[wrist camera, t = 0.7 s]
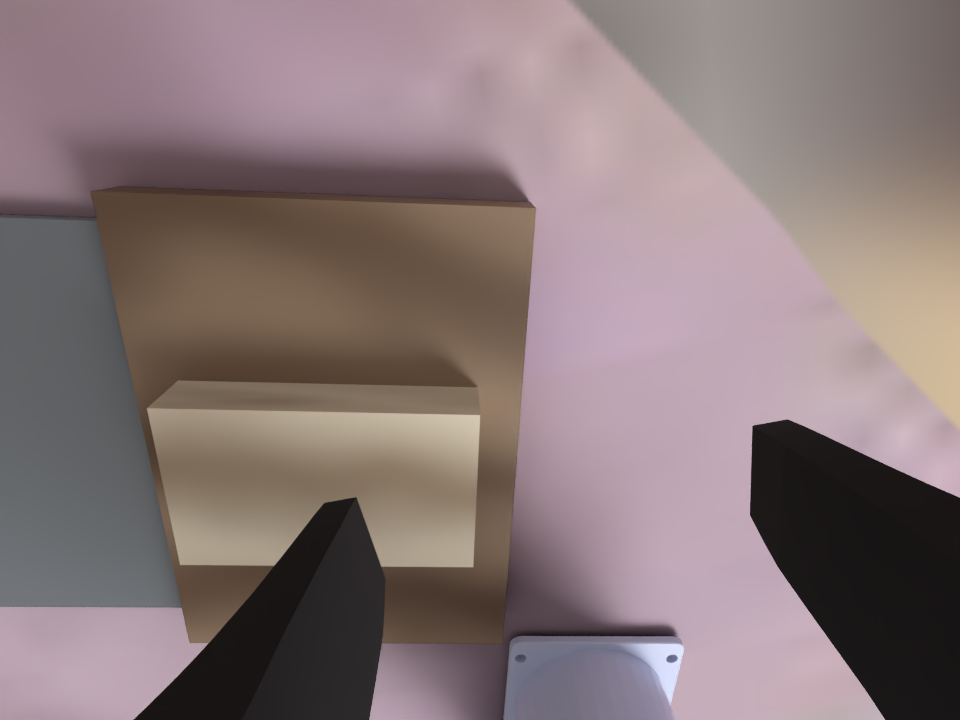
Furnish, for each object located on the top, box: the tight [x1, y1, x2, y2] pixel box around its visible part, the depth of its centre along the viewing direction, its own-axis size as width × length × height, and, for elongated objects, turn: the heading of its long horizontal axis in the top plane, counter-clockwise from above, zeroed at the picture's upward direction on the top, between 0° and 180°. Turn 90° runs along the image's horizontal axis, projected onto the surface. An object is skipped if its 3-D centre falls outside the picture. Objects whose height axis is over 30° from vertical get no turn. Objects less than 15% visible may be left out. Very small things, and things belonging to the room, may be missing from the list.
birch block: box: [147, 380, 480, 567], centre depth 19 cm, size 6×10×2 cm, turn 88°
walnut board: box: [91, 186, 536, 644], centre depth 21 cm, size 18×13×2 cm
